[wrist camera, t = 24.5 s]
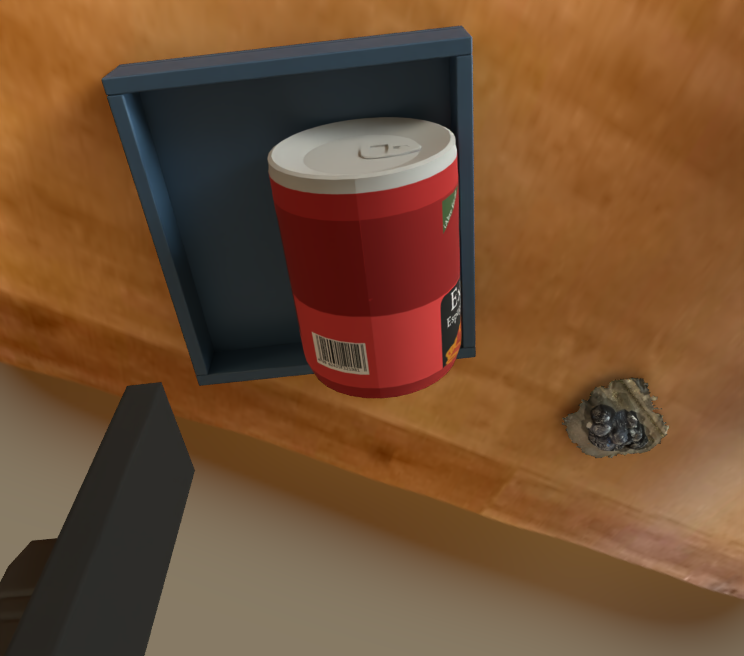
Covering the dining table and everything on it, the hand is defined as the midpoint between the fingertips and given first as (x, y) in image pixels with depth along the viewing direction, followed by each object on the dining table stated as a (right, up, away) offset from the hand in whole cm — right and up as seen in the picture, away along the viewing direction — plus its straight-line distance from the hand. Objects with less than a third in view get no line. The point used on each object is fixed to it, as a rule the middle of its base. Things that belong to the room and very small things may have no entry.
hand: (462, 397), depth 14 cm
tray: (-5, +7, +19) cm, 21 cm away
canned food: (-1, 0, +19) cm, 19 cm away
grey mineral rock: (+14, -4, +28) cm, 32 cm away
